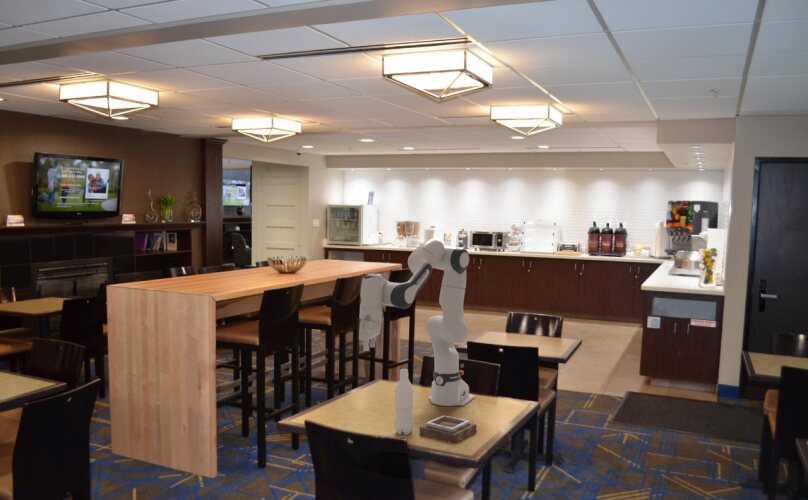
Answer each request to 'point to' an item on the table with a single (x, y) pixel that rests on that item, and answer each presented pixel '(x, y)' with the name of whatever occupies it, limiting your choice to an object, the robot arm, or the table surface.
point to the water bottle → (404, 404)
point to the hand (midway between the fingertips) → (369, 349)
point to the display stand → (448, 428)
